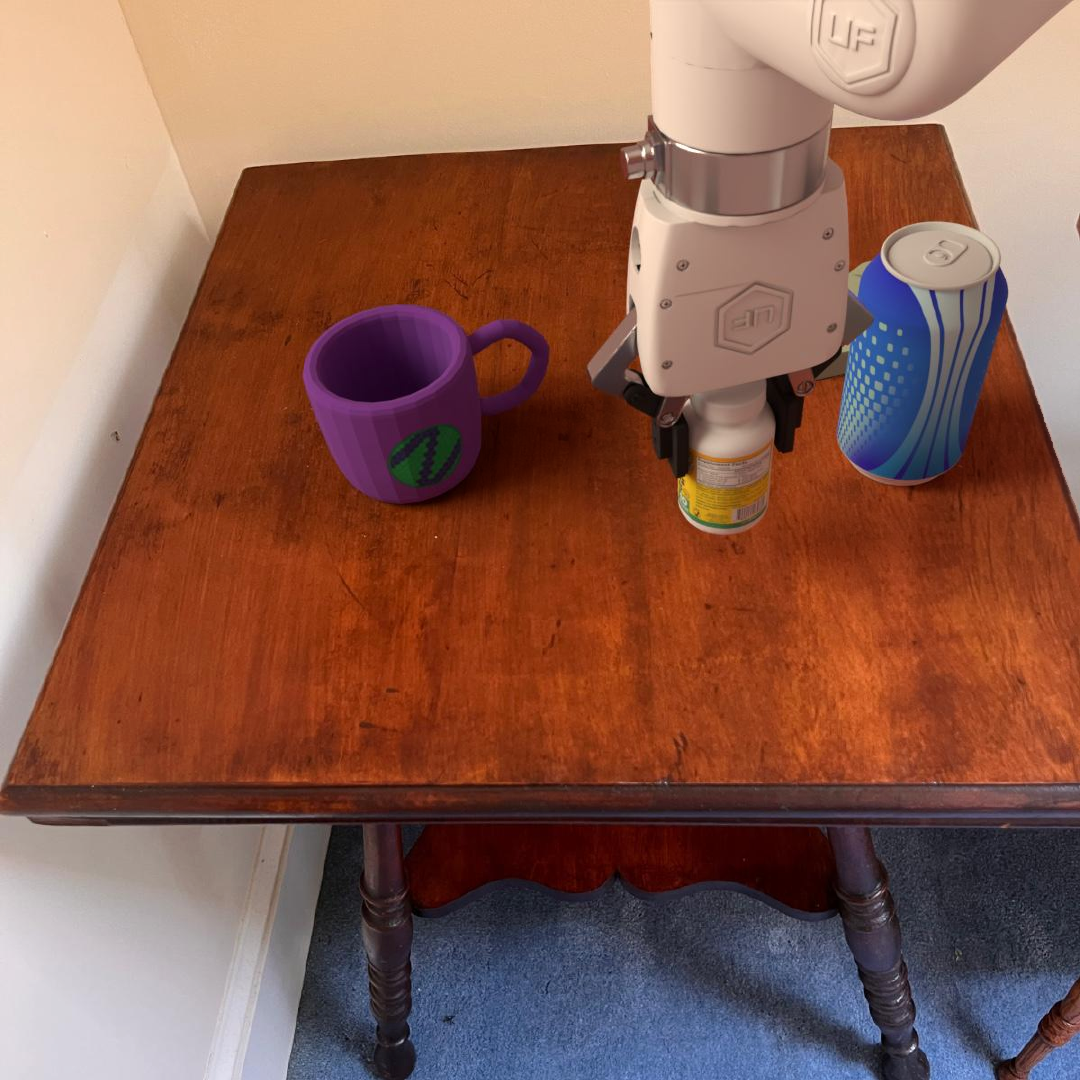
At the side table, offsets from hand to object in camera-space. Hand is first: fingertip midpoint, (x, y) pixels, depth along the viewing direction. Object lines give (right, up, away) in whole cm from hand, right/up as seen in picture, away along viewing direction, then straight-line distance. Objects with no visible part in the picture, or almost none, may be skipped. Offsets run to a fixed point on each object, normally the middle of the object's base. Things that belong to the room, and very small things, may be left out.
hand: (725, 446), depth 58 cm
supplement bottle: (+1, -3, +4) cm, 5 cm away
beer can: (+14, +1, +14) cm, 20 cm away
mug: (-17, +2, +19) cm, 25 cm away
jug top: (+15, +11, +22) cm, 28 cm away
